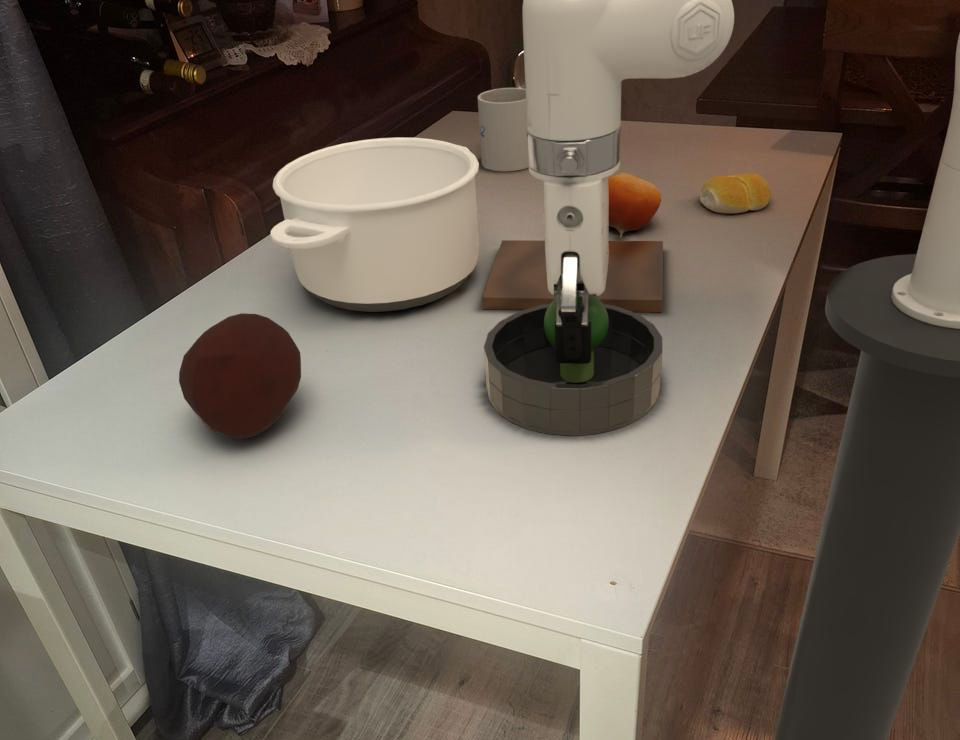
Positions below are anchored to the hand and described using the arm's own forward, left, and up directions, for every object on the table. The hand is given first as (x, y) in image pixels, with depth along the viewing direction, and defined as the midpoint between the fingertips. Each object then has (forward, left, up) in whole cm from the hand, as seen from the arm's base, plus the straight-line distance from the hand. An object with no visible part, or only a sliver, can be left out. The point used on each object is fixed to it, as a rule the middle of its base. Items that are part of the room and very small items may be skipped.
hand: (576, 342), depth 84 cm
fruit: (-4, -40, -5) cm, 40 cm away
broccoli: (0, 0, -4) cm, 4 cm away
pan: (0, 0, -5) cm, 5 cm away
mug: (+15, -68, -5) cm, 70 cm away
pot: (+24, -23, -5) cm, 34 cm away
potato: (+30, +8, -5) cm, 32 cm away
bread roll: (-18, -48, -5) cm, 51 cm away
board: (+2, -24, -5) cm, 24 cm away
